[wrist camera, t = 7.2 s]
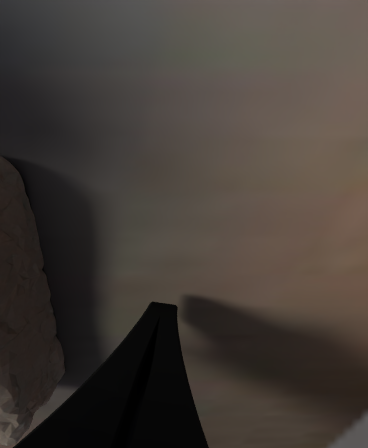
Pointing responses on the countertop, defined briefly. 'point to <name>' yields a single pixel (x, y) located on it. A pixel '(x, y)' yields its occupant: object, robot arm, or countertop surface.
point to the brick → (23, 314)
